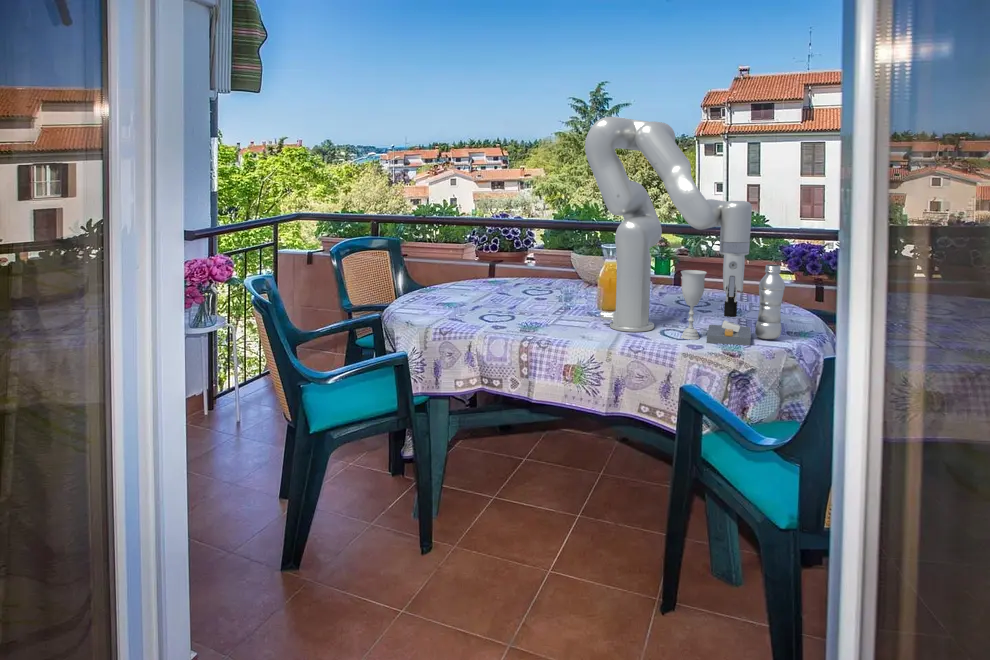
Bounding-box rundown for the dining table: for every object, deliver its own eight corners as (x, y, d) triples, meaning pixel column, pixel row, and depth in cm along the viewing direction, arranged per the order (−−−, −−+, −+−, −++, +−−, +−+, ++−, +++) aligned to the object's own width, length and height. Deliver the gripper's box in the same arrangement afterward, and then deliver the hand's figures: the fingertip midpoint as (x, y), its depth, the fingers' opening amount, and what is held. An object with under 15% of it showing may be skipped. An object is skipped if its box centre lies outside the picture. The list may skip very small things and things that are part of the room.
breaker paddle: (721, 327, 205) (723, 322, 205) (722, 324, 208) (723, 320, 207) (738, 332, 204) (739, 327, 203) (738, 329, 207) (739, 325, 206)
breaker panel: (706, 342, 202) (707, 330, 201) (709, 331, 215) (709, 320, 214) (750, 345, 198) (751, 333, 198) (750, 333, 211) (750, 322, 211)
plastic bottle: (759, 335, 210) (764, 263, 205) (784, 338, 206) (790, 264, 201) (750, 339, 205) (755, 265, 201) (776, 343, 201) (781, 267, 196)
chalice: (708, 339, 205) (711, 273, 201) (684, 341, 204) (688, 274, 200) (695, 333, 212) (699, 269, 208) (672, 335, 210) (675, 270, 207)
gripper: (749, 252, 193) (744, 322, 197) (749, 245, 207) (744, 311, 211) (718, 251, 195) (714, 321, 199) (720, 244, 209) (716, 310, 213)
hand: (730, 316), depth 205 cm, fingers closed
